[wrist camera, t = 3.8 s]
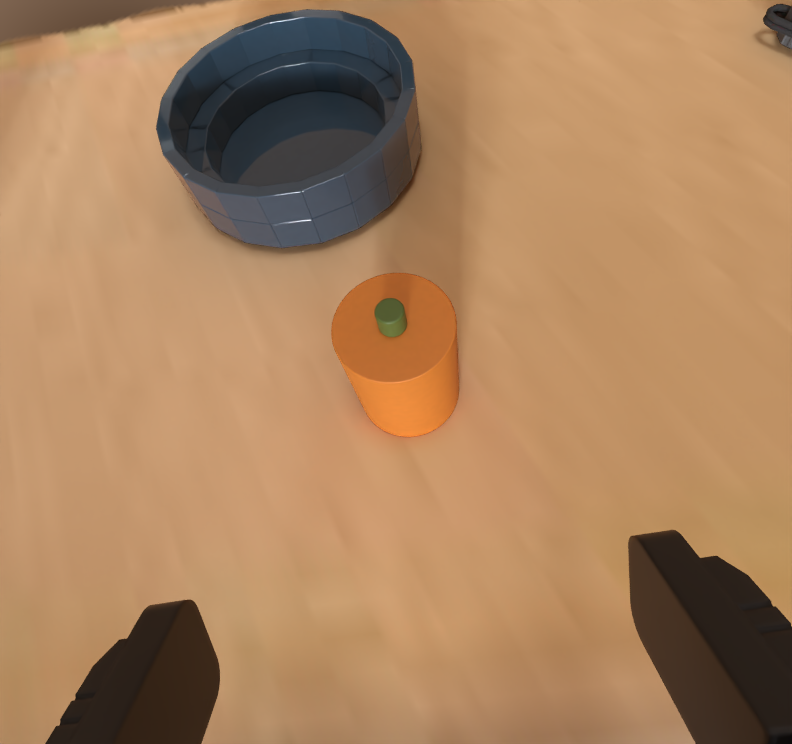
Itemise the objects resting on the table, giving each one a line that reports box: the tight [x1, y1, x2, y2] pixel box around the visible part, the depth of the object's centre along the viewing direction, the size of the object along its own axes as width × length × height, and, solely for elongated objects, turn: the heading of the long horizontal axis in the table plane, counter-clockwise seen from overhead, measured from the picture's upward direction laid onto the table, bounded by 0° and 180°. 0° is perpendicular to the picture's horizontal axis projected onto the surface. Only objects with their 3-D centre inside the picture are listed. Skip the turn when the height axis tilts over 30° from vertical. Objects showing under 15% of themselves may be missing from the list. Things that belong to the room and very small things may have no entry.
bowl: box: [156, 9, 421, 248], centre depth 34 cm, size 16×16×5 cm
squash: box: [331, 273, 459, 437], centre depth 25 cm, size 5×5×8 cm
